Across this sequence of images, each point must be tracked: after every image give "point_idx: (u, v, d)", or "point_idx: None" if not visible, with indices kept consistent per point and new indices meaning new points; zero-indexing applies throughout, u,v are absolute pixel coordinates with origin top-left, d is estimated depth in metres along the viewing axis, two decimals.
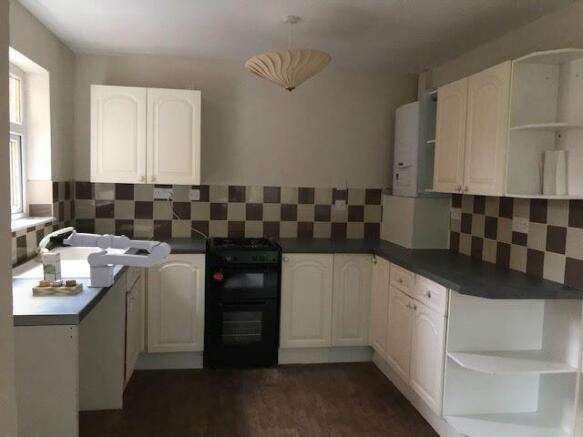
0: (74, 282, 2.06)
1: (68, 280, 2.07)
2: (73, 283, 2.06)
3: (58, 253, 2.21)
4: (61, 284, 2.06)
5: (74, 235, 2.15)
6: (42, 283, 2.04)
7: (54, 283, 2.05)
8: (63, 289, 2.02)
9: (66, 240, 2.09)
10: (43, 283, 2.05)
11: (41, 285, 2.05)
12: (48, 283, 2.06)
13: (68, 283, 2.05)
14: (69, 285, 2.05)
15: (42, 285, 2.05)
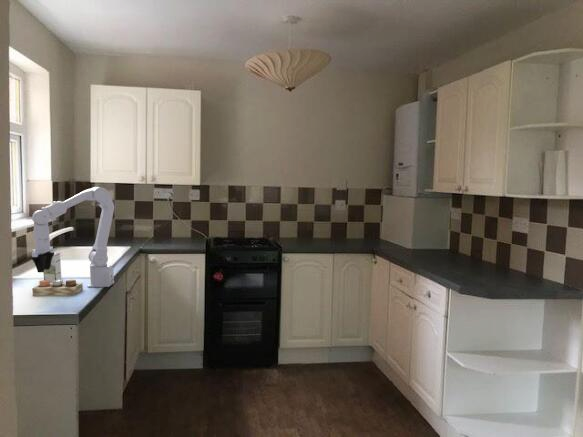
0: (74, 282, 2.06)
1: (68, 280, 2.07)
2: (73, 283, 2.06)
3: (58, 253, 2.21)
4: (61, 284, 2.06)
5: (35, 248, 2.03)
6: (42, 283, 2.04)
7: (54, 283, 2.05)
8: (63, 289, 2.02)
9: (32, 254, 1.98)
10: (43, 283, 2.05)
11: (41, 285, 2.05)
12: (48, 283, 2.06)
13: (68, 283, 2.05)
14: (69, 285, 2.05)
15: (42, 285, 2.05)
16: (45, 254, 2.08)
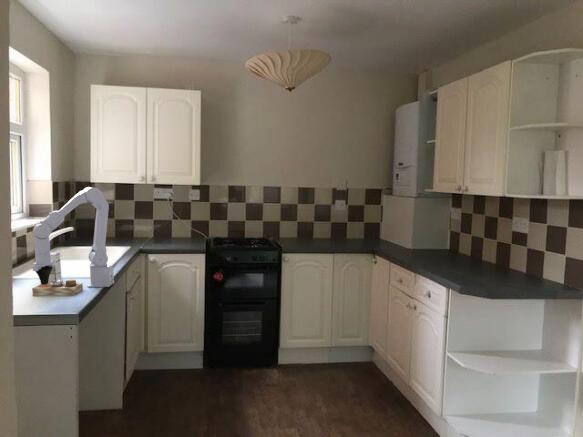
0: (74, 282, 2.06)
1: (68, 280, 2.07)
2: (73, 283, 2.06)
3: (58, 253, 2.21)
4: (61, 284, 2.06)
5: (36, 262, 2.03)
6: (42, 286, 2.05)
7: (54, 283, 2.05)
8: (63, 289, 2.02)
9: (33, 267, 1.98)
10: (43, 286, 2.05)
11: None
12: (48, 286, 2.06)
13: (68, 283, 2.05)
14: (69, 285, 2.05)
15: None
16: None
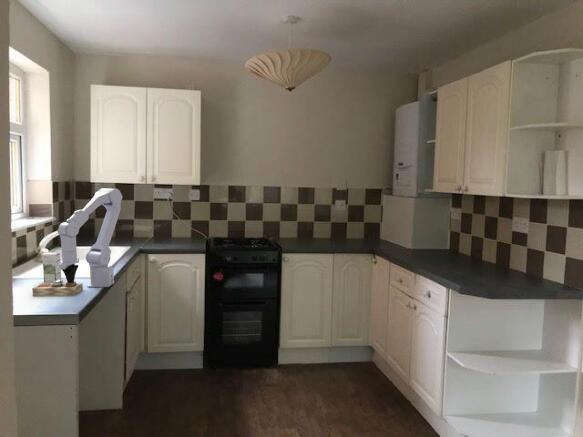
0: (74, 284, 2.06)
1: None
2: (73, 285, 2.06)
3: (58, 253, 2.21)
4: (61, 284, 2.06)
5: (62, 260, 2.04)
6: (42, 286, 2.05)
7: (54, 283, 2.05)
8: (63, 289, 2.02)
9: (60, 266, 1.99)
10: (43, 286, 2.05)
11: None
12: (48, 286, 2.06)
13: (68, 285, 2.05)
14: None
15: None
16: None
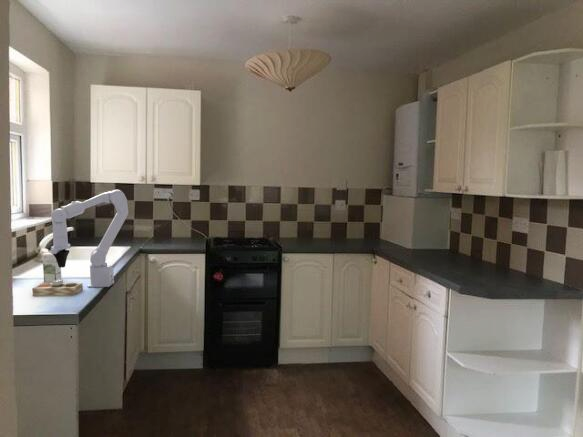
0: (74, 285, 2.06)
1: (68, 283, 2.07)
2: (73, 286, 2.06)
3: None
4: (61, 284, 2.06)
5: (53, 245, 2.10)
6: (42, 286, 2.05)
7: (54, 283, 2.05)
8: (63, 289, 2.02)
9: (51, 250, 2.05)
10: (43, 286, 2.05)
11: None
12: (48, 286, 2.06)
13: (68, 286, 2.05)
14: None
15: None
16: None
